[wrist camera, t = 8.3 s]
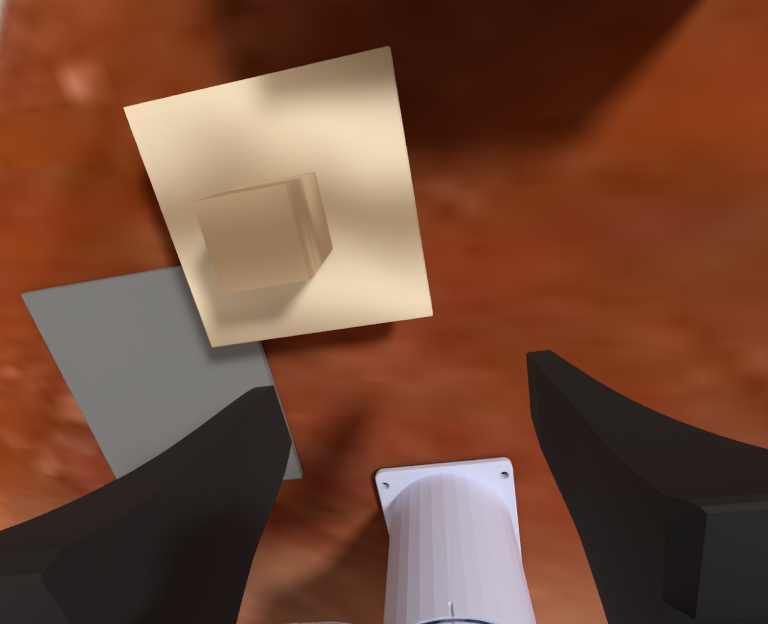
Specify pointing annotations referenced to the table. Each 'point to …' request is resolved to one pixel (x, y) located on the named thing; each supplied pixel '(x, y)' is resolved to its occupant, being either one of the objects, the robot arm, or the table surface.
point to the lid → (290, 199)
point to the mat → (144, 362)
